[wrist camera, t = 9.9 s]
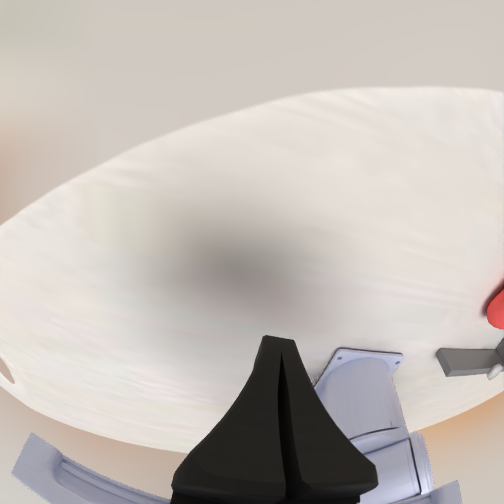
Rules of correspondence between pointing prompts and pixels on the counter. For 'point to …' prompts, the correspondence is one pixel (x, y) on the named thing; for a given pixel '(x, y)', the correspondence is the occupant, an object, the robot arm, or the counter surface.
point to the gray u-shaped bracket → (472, 361)
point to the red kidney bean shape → (496, 311)
